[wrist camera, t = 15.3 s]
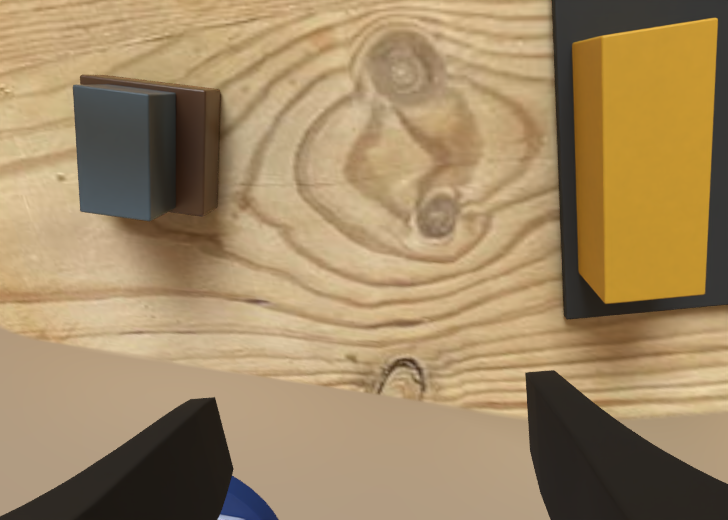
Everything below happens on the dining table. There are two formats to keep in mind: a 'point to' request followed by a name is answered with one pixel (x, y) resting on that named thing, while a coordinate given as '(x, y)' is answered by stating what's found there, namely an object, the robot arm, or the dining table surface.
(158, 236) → the dining table surface
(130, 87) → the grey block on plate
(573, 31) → the mat
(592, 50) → the bar
